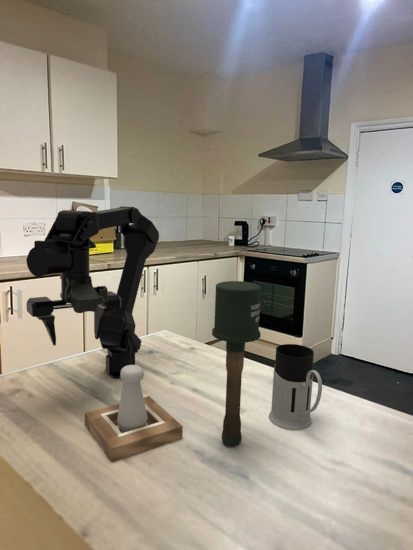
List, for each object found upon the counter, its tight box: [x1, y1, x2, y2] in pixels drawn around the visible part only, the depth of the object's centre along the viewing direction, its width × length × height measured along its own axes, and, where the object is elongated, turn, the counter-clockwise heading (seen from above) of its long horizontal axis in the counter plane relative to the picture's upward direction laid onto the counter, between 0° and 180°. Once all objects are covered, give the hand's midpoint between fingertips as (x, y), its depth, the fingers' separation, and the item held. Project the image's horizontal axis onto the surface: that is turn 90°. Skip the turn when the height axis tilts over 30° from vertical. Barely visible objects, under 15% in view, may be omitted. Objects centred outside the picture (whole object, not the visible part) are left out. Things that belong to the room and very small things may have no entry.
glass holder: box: [268, 343, 323, 431], centre depth 84 cm, size 9×14×15 cm, turn 18°
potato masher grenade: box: [211, 280, 262, 448], centre depth 76 cm, size 8×9×30 cm
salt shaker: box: [117, 364, 148, 433], centre depth 80 cm, size 6×6×13 cm
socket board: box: [84, 395, 184, 463], centre depth 81 cm, size 14×14×3 cm
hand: (76, 341), depth 91 cm, fingers open, 9 cm apart
